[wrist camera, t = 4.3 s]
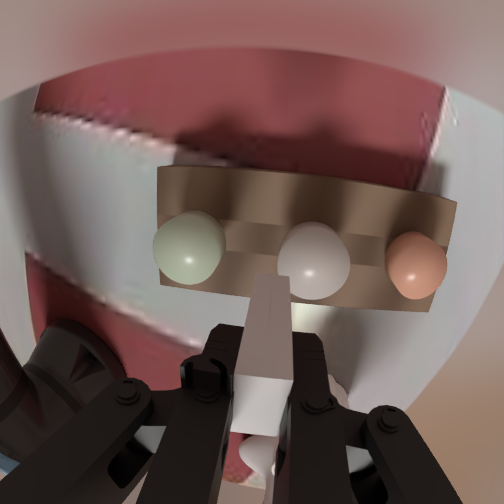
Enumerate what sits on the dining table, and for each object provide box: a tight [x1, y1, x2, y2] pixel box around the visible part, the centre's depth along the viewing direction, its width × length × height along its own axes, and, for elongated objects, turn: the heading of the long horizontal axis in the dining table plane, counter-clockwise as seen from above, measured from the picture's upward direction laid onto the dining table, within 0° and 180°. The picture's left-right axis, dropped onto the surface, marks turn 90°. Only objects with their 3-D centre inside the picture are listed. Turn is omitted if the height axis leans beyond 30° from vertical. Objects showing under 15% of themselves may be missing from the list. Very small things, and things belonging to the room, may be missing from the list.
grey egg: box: [277, 222, 350, 300], centre depth 18 cm, size 4×4×4 cm
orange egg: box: [384, 231, 447, 299], centre depth 19 cm, size 4×4×4 cm
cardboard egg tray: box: [157, 165, 457, 312], centre depth 22 cm, size 24×10×3 cm, turn 86°
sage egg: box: [153, 210, 226, 285], centre depth 19 cm, size 4×4×4 cm
